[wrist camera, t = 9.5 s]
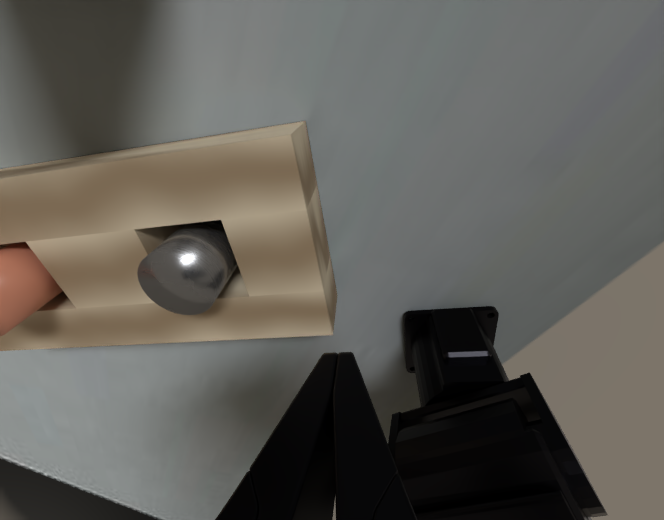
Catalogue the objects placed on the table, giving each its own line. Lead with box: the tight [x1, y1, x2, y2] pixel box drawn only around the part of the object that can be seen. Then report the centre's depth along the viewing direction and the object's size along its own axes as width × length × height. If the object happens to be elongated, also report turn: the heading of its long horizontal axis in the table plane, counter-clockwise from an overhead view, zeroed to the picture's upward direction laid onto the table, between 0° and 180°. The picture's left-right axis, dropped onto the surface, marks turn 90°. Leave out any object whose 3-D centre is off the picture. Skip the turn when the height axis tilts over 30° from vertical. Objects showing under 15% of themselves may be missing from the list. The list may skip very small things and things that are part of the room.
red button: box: [0, 242, 63, 336], centre depth 19 cm, size 4×4×6 cm
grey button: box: [137, 220, 238, 315], centre depth 18 cm, size 4×4×6 cm
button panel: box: [0, 121, 337, 351], centre depth 20 cm, size 12×26×4 cm, turn 99°
